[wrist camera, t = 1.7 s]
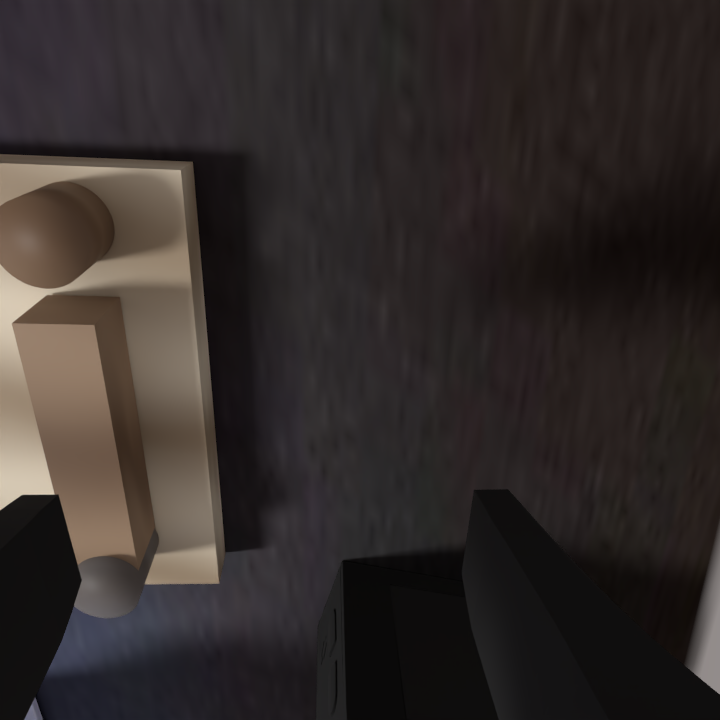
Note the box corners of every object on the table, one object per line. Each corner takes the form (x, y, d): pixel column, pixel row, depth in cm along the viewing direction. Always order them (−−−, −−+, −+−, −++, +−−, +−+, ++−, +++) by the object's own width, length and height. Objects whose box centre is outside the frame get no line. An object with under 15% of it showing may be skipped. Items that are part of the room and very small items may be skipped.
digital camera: (307, 644, 26) (301, 827, 20) (339, 558, 23) (344, 735, 17) (517, 674, 28) (572, 851, 21) (565, 597, 25) (643, 770, 19)
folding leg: (163, 558, 21) (143, 617, 18) (100, 559, 21) (73, 618, 18) (123, 296, 16) (90, 333, 14) (43, 295, 16) (-3, 331, 14)
